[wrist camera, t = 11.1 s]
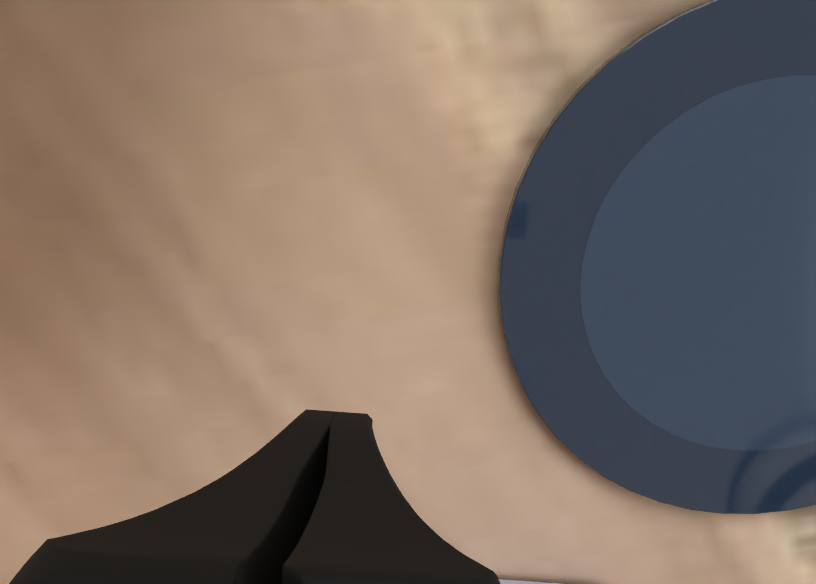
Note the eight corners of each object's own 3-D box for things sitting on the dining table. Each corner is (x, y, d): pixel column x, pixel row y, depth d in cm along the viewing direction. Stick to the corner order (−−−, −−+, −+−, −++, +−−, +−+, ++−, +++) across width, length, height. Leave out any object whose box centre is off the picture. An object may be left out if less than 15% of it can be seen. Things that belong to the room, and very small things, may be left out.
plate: (959, 521, 25) (969, 531, 24) (475, 489, 25) (476, 498, 25) (1139, 0, 20) (1157, -2, 19) (529, -38, 20) (531, -40, 19)
